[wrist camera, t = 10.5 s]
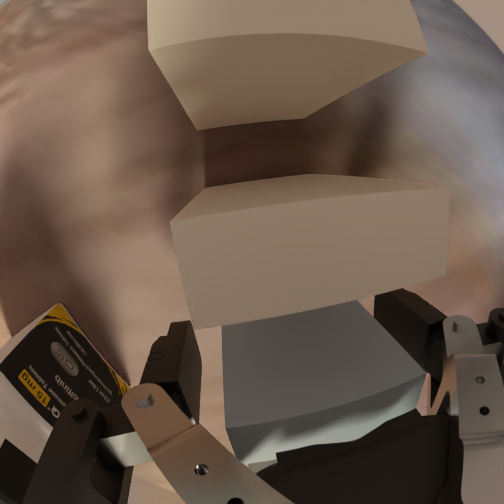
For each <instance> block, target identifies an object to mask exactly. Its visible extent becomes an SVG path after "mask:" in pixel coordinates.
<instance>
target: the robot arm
mask: <svg viewBox="0 0 504 504" xmlns="http://www.w3.org/2000/svg"><path fill="white" fill-rule="evenodd" d="M374 318H375V319H376V320H377V321H378V322H379V323H380V324H381V325H382V326H383V327H384V328H385V330H386V331H387V332H388V333H389V334H390V335H391V336H392V337H393V338H394V339H395V340H396V341H397V342H398V343H399V344H400V345H401V346H402V347H403V348H404V350H405V351H406V352H407V353H408V354H409V355H410V356H411V357H412V358H413V359H414V360H415V361H416V362H417V363H418V365H419V366H420V367H421V368H422V369H423V370H424V371H425V372H426V373H429V374H430V376H429V379H428V394H427V414H426V416H421V415H420V413H419V412H418V410H417V409H416V408H415V409H413V410H411V411H409V412H406V413H404V414H402V415H400V416H397V417H395V418H392V419H390V420H387V421H386V422H384V423H383V424H381V425H380V426H378V427H377V428H375V429H374V430H372V431H370V432H369V433H367V434H366V435H364V436H362V437H361V438H359V439H357V440H355V441H349V442H339V443H328V444H314V445H310V446H305V447H301V448H297V449H292V450H287V451H282V452H277V453H276V459H277V463H275V464H272V465H270V466H268V467H266V468H264V469H262V470H260V471H259V472H257V473H253V472H252V471H251V470H250V469H249V468H247V467H246V466H245V465H244V464H243V463H242V462H240V461H239V460H238V459H237V458H236V457H235V456H234V455H233V454H231V453H230V452H229V451H228V450H227V449H226V448H225V447H224V446H223V445H222V444H221V443H220V442H219V441H218V440H216V439H215V438H214V437H213V436H212V435H211V434H210V433H209V432H208V431H207V430H206V429H205V428H204V427H203V426H202V425H201V424H199V411H200V391H201V374H202V362H201V355H200V351H199V348H198V344H197V341H196V337H195V334H194V330H193V326H192V323H191V321H190V320H188V321H180V322H172V323H171V324H170V327H169V331H168V334H167V336H160V337H159V338H158V339H157V340H156V341H155V342H154V343H153V344H152V347H151V350H150V355H149V356H148V359H147V362H146V365H145V368H144V371H143V374H142V377H141V381H140V384H139V385H137V386H135V387H133V388H131V389H130V390H128V391H127V392H126V393H125V394H124V396H123V398H122V402H121V404H117V405H113V406H109V407H105V408H100V409H99V407H98V406H97V404H96V403H95V402H94V401H93V400H91V399H88V398H79V399H76V400H73V401H71V402H69V403H68V404H67V405H66V406H65V407H64V408H63V409H62V411H61V413H60V415H59V417H58V419H57V421H56V423H55V425H54V427H53V430H52V432H51V434H50V436H49V438H48V440H47V442H46V445H45V447H44V449H43V452H42V454H41V456H40V458H39V461H38V463H37V466H36V468H35V471H34V473H33V476H32V478H31V481H30V483H29V486H28V489H27V492H26V494H25V497H24V500H23V503H22V504H127V503H128V496H129V490H130V484H131V477H132V472H133V467H134V465H137V464H141V463H145V462H150V461H154V462H155V463H156V465H157V466H158V468H159V469H160V470H161V472H162V473H163V475H164V476H165V477H166V479H167V480H168V481H169V483H170V484H171V485H172V487H173V488H174V489H175V491H176V492H177V493H178V494H179V496H180V497H181V498H182V499H183V501H184V502H185V503H186V504H504V308H497V309H494V310H492V311H491V312H490V315H489V318H488V322H487V323H481V324H476V323H475V322H474V321H473V320H472V319H470V318H468V317H466V316H461V315H453V316H449V317H447V316H446V315H444V314H443V313H442V312H440V311H439V310H438V309H436V308H435V307H433V306H432V305H431V304H430V305H429V303H428V302H427V301H425V300H423V299H422V298H421V297H420V296H418V295H417V294H415V293H412V292H409V291H407V290H405V289H403V288H401V289H397V290H393V291H390V292H386V293H382V294H378V295H375V301H374Z"/></svg>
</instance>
